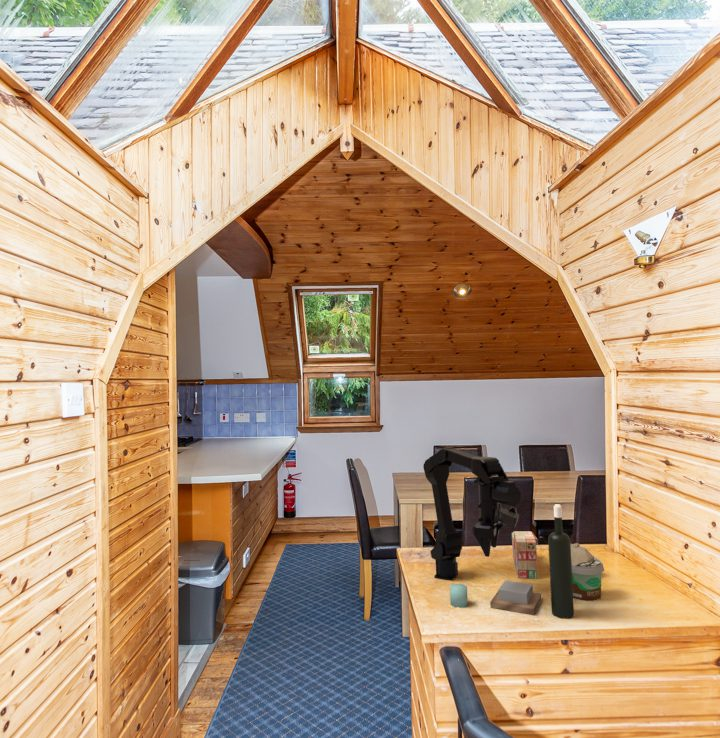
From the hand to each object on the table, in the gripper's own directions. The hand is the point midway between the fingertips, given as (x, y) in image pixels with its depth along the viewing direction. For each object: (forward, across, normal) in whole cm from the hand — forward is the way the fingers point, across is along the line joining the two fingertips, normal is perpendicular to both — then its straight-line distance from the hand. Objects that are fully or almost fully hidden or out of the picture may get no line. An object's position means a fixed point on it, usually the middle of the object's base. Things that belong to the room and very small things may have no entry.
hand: (490, 551), depth 159 cm
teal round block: (+14, -9, +8) cm, 18 cm away
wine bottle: (+14, -5, -20) cm, 25 cm away
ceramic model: (+14, +30, -22) cm, 40 cm away
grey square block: (+12, -2, -7) cm, 14 cm away
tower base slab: (+14, -2, -8) cm, 16 cm away
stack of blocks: (+14, +29, -5) cm, 33 cm away
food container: (+14, +10, -27) cm, 32 cm away
